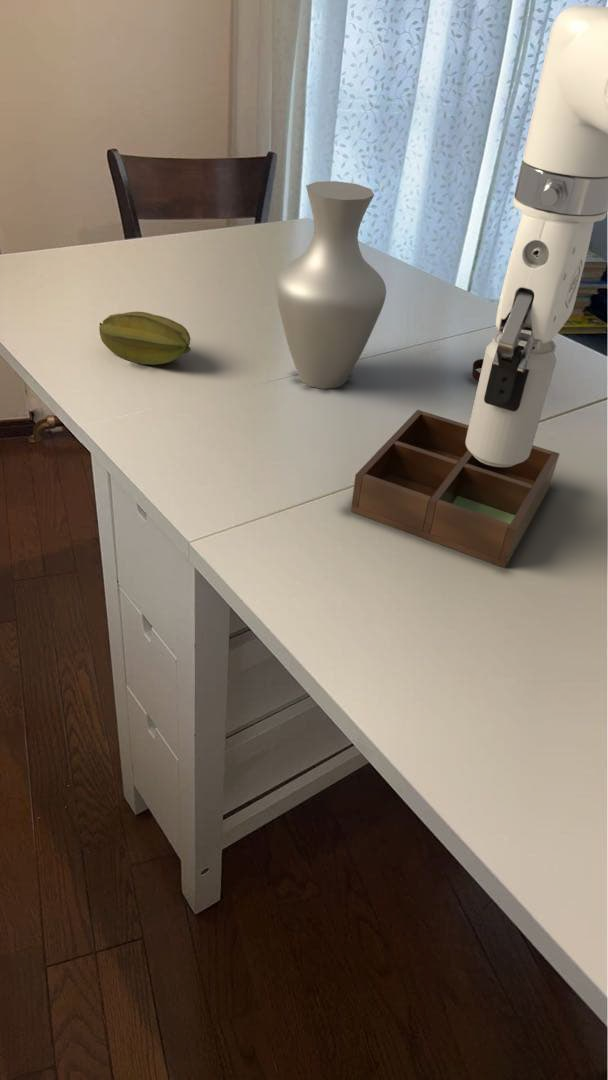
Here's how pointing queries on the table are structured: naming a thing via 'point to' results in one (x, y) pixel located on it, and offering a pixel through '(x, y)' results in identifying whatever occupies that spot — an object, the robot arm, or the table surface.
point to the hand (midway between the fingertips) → (512, 389)
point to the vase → (330, 289)
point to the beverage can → (503, 431)
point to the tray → (451, 489)
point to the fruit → (144, 337)
